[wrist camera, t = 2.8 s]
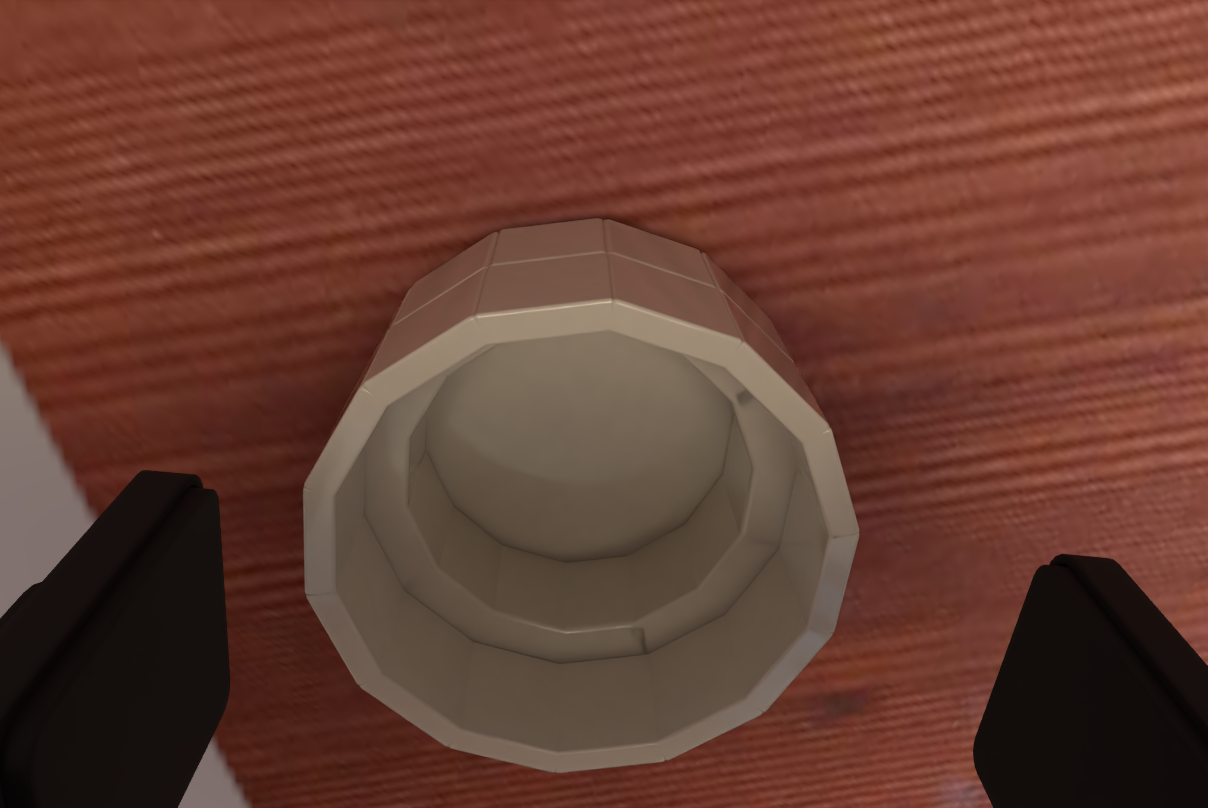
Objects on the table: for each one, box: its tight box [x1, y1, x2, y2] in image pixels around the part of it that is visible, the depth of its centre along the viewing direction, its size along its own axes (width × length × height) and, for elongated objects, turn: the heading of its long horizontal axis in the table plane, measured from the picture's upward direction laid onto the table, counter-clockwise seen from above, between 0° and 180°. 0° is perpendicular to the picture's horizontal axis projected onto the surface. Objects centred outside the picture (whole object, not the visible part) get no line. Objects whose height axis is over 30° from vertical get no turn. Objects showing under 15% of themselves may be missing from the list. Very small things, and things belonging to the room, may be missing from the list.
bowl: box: [303, 218, 859, 773], centre depth 14 cm, size 7×7×4 cm
